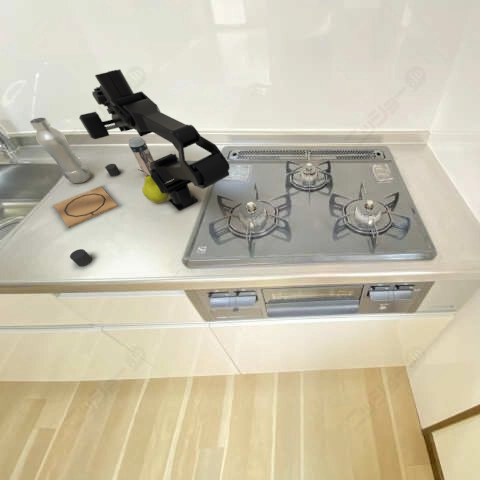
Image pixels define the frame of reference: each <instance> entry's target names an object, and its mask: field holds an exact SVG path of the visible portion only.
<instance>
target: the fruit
mask: <svg viewBox="0 0 480 480" xmlns="http://www.w3.org/2000/svg"><path fill="white" fill-rule="evenodd" d="M137 171H140V172H142V173H144V171H142V169H139V168H138V169H137ZM145 173H146V172H145ZM146 174H147V173H146ZM164 184H165V183H164ZM142 194H143V196H144V197H145V198H146V199H147V200H148V201H151V202H152V203H157V204H160V203H163V202H165V201H166V200H167V198H168V197H169V195H167V194H166V193H161V192H160V190H159V188H158V186H157V185H156V184H155V182H154V181H153V179H152V178H151V175H148V174H147V175H145V176H144V184H143V186H142Z"/></svg>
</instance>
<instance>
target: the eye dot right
mask: <svg viewBox="0 0 480 480" xmlns="http://www.w3.org/2000/svg"><path fill="white" fill-rule="evenodd" d="M104 168H105V170H106V171H107V173H108V175H109V176H110V177H118V176H119V175H120V174H121V171H120V169H119V167H118V165H117V164H115V163H108V164H107V165H106V166H105V167H104Z"/></svg>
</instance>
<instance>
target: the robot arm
mask: <svg viewBox="0 0 480 480" xmlns="http://www.w3.org/2000/svg"><path fill="white" fill-rule="evenodd" d="M94 77H95V78H96V81H98V83H99V86H98V87H95V88H93V91H92V92H91V93H92V96H93V98H94V100H95V101H96V103H97V104H98V105H100V106H101V105H102V106H103V107H106V110H107V113H108V115H111V119H108V120H104V121H103V120H102V118H101V117H100V115H99V114H98V112H97V111H92V112H88V113H83V114H80V115H79V120H80V122H81V124H82V125H83V127H84V128H85V130H86V132H87V133H88V135H89V137H90V138H91V139H93V140H98V139H102V138H105V137H110V133H109V131H110V130H115V129H119V131H120V132H128V131H132V130H135V131H136V132H137V134H138V135H139V137H143V136H146V135H148V134H149V135H150V134H152V133H153V134H155V135H157V136H159V137H161V138H162V139H164V140H166V141H168V142H169V143H171V144H172V146H173V147H174V148H175V149H176V151H177V152H178V155H177V153H169V154H167V155H165V156H162V157H160V158H158V159H154V161H153V162H150V164H151V165H150V169H152V170H150V175H151V178H152V179H153V181H154V182H155V184H156V185H157V186H158V188H159V190H160V192H161V193H166V194H167V195H168V196H169V197H170V199H168V201H169V203H170V204H171V205H172V206H173V207H174V208H175V209H176V210H178V211H182V210H184V209H186V208H188V207H191V206H192V205H194V204H196V203H198V202H199V198H197V197H196V196H195V195H193V194H192V191H191V189H190V187H189V184H191V183H192V184H193V186H194V187H197V188H199V189H201V190H205V189H206V188H209V187H210V186H212V185H214V184H216V183H218V182H220V181H222V180H224V179H226V178H227V177H229V176H230V172H229V170H230V163H229V161H228V160H227V158H226V157H225V156H224V154H223V153H222V151H221V150H220V149H219V148H218V146H217V145H216V143H213V142H212V141H210V140H208V139H207V138H205V137H203V136H202V135H201V134H200V133H199V131H198V130H197V128H195V126H194V125H192V124H186V123H184V122H182V121H179V120H177V119H175V118H173V117H171V116H170V115H168V114H165V113H163V112H161V110H160V108H159V106H158V104H156V103H155V102H154V101H153V100H152V99H151V98H150V97H148V95H146V94H145V93H144V92H143V91H142V90H141V91H137V92H134V91H133V89H132V87H131V86H130V84H129V82H128V81H127V79H126V77H125V75H124V74H123V72H122V70H121V69H114V70H108V71H107V72H103V73H99V74H95V75H94ZM193 145H196V146H198V147H199V148H201V149H203V150H205V151H206V152H208V153H210V154H208V155H206V156H204V157H202V158H200V159H198V160H186V157H185V149H186V148H188V147H191V146H193ZM164 183H165V184H164Z"/></svg>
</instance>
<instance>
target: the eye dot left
mask: <svg viewBox="0 0 480 480" xmlns="http://www.w3.org/2000/svg"><path fill="white" fill-rule="evenodd" d="M69 258H70V259H71V261H73V263H75V265H77V266H78V267H81V268H82V267H86V266H88V265H89V264H91V262H92V261H93V257H91V255H90V254H89V253H88V252H87V251H86V250H85V249H83V248H79V249H76V250H74V251H72V252H71V253H70V255H69Z"/></svg>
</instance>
